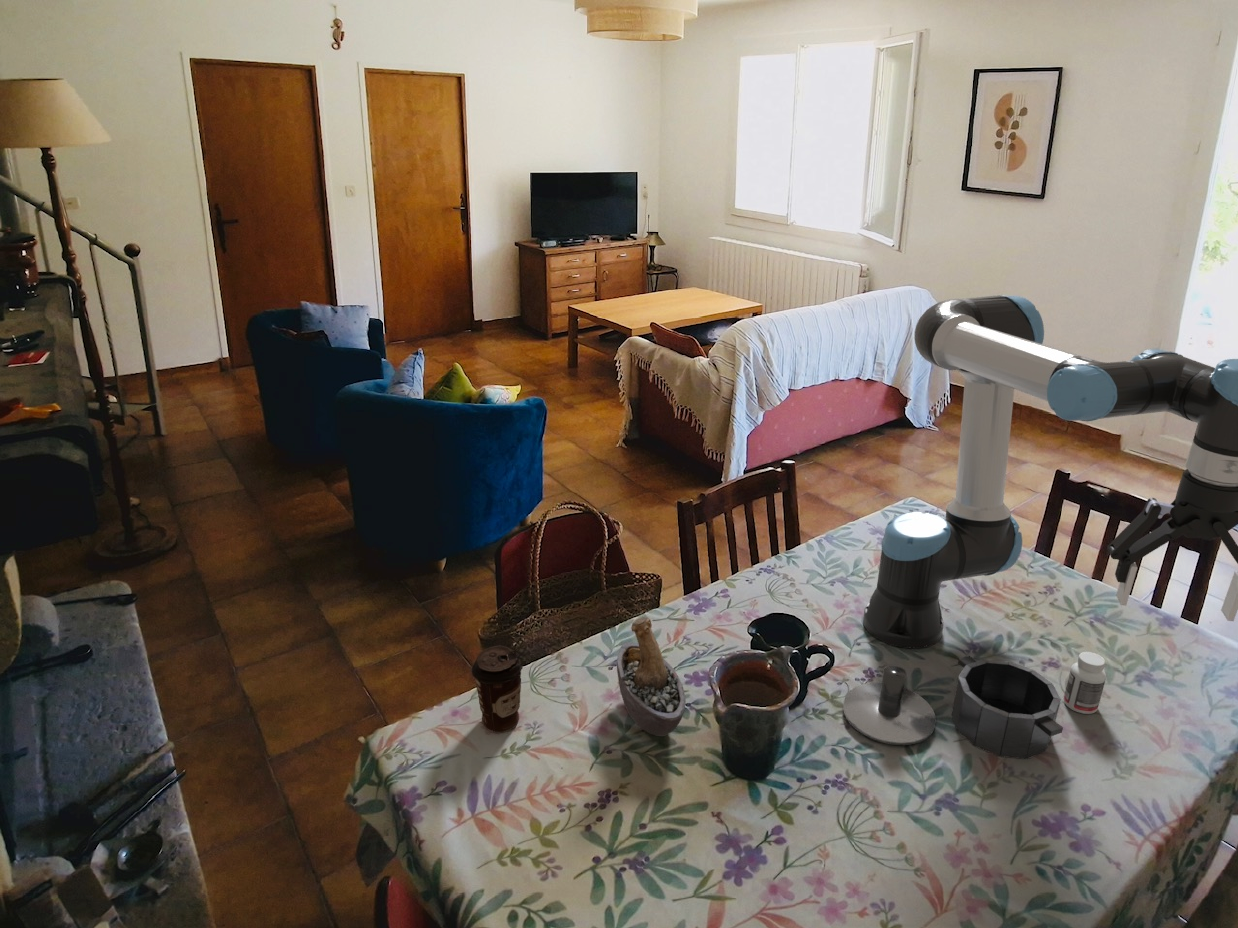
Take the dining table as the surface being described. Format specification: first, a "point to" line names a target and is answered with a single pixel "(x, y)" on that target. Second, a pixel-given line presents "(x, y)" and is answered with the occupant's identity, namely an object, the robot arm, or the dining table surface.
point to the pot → (1005, 708)
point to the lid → (889, 710)
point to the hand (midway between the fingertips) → (1173, 608)
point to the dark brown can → (498, 687)
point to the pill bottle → (1085, 683)
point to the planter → (649, 683)
